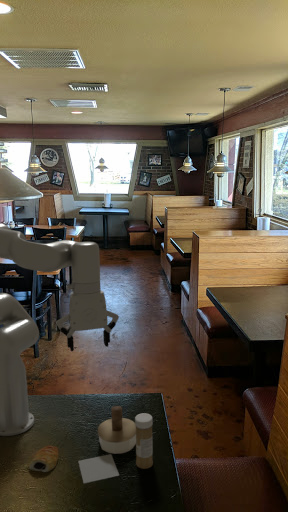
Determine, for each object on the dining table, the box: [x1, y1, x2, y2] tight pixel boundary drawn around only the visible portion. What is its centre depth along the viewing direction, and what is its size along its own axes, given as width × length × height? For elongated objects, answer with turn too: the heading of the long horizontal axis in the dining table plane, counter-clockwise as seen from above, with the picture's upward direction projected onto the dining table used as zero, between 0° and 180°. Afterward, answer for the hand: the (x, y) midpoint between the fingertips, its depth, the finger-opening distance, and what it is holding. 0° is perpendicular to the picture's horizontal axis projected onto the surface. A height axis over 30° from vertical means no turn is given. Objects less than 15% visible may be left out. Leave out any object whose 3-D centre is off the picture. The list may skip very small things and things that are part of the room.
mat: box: [77, 453, 120, 484], centre depth 107 cm, size 9×9×1 cm
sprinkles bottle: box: [134, 412, 154, 470], centre depth 108 cm, size 5×5×14 cm
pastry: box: [28, 445, 60, 473], centre depth 111 cm, size 9×7×4 cm
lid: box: [97, 405, 136, 443], centre depth 117 cm, size 11×11×7 cm
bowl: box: [98, 434, 136, 455], centre depth 118 cm, size 10×10×4 cm
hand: (89, 347), depth 115 cm, fingers open, 9 cm apart
